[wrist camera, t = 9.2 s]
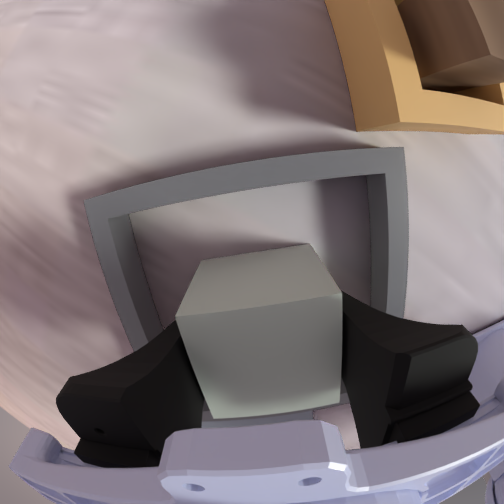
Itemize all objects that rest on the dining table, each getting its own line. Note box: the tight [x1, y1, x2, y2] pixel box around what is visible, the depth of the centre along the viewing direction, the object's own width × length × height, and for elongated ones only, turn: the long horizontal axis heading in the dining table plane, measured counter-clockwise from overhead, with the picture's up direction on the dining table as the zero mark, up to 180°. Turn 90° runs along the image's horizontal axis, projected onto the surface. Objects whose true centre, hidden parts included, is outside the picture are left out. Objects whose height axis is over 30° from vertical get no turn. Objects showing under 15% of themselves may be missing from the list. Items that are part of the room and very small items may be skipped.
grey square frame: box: [84, 147, 409, 422], centre depth 12 cm, size 13×13×2 cm
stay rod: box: [397, 0, 504, 93], centre depth 6 cm, size 3×3×7 cm
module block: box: [175, 244, 342, 419], centre depth 11 cm, size 5×5×5 cm
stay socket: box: [324, 0, 504, 134], centre depth 8 cm, size 7×7×4 cm
